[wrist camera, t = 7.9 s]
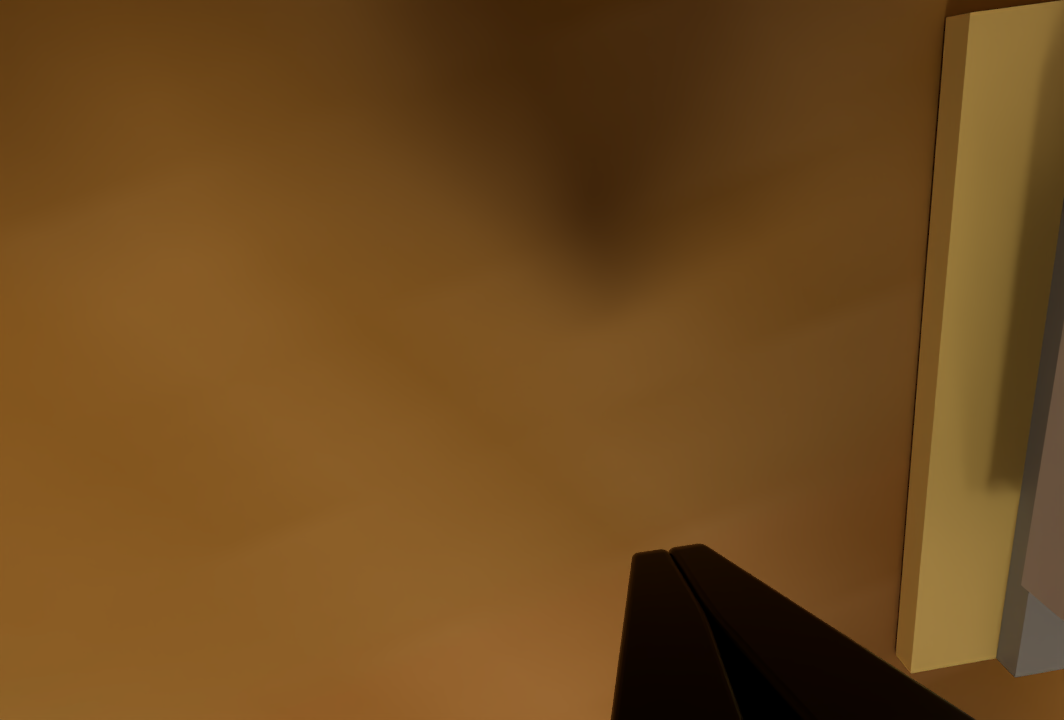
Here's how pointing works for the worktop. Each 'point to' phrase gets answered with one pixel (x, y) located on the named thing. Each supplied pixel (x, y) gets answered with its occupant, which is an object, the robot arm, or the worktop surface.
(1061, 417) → the trolley
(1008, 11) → the dock
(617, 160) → the worktop surface
